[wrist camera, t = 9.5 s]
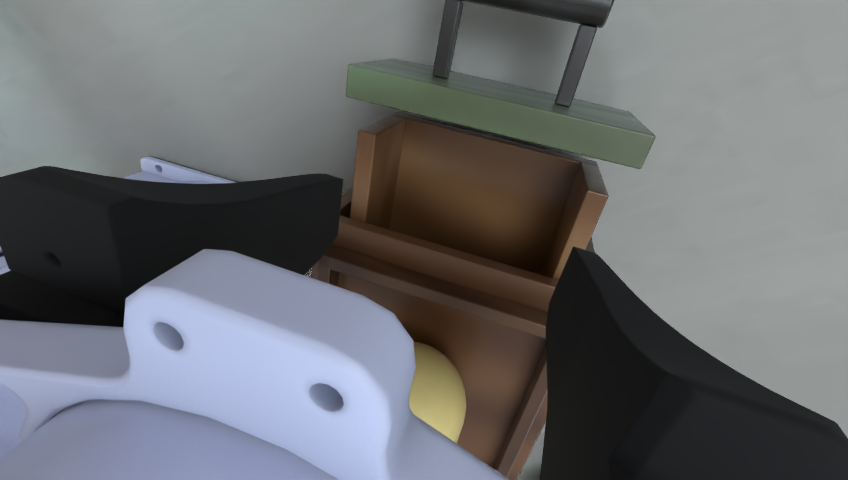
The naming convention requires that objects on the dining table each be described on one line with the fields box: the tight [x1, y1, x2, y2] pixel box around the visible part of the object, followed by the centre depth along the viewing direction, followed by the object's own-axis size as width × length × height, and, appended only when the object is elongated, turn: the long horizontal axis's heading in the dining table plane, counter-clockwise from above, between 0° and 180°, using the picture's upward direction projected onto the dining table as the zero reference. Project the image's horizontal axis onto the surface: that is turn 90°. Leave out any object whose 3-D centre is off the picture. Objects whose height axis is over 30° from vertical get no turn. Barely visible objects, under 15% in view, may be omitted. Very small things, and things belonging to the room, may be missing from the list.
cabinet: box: [312, 187, 594, 480], centre depth 23 cm, size 14×12×7 cm
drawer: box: [346, 0, 655, 280], centre depth 19 cm, size 18×11×5 cm, turn 169°
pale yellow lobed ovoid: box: [409, 342, 466, 443], centre depth 18 cm, size 5×7×5 cm
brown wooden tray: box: [317, 245, 548, 477], centre depth 20 cm, size 11×12×1 cm
